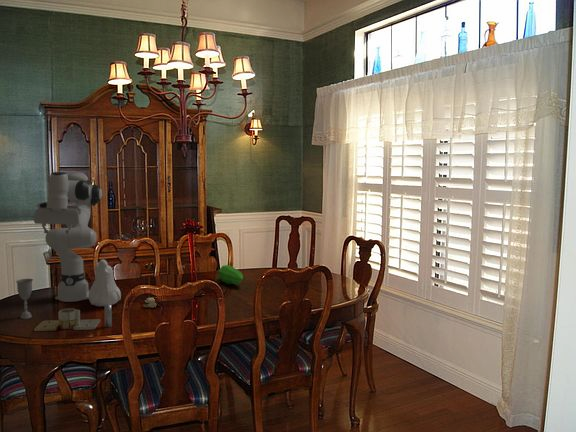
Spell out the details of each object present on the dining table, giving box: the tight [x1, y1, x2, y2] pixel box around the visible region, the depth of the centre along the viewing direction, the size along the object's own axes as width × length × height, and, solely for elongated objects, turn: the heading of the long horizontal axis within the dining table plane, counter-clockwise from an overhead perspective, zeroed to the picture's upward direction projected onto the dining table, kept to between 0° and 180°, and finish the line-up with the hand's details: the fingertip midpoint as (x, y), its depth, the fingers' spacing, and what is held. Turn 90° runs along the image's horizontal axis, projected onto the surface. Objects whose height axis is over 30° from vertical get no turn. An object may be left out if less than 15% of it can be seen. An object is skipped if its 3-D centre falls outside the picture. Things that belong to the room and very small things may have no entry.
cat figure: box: [142, 297, 157, 309], centre depth 262 cm, size 10×9×25 cm
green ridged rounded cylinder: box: [218, 264, 244, 285], centre depth 307 cm, size 11×12×30 cm
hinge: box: [33, 307, 101, 332], centre depth 226 cm, size 11×25×7 cm, turn 97°
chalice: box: [15, 278, 34, 320], centre depth 238 cm, size 7×7×18 cm
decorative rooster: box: [88, 259, 122, 307], centre depth 262 cm, size 25×16×25 cm, turn 19°
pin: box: [103, 304, 113, 328], centre depth 227 cm, size 3×3×10 cm
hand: (56, 233), depth 240 cm, fingers open, 8 cm apart
